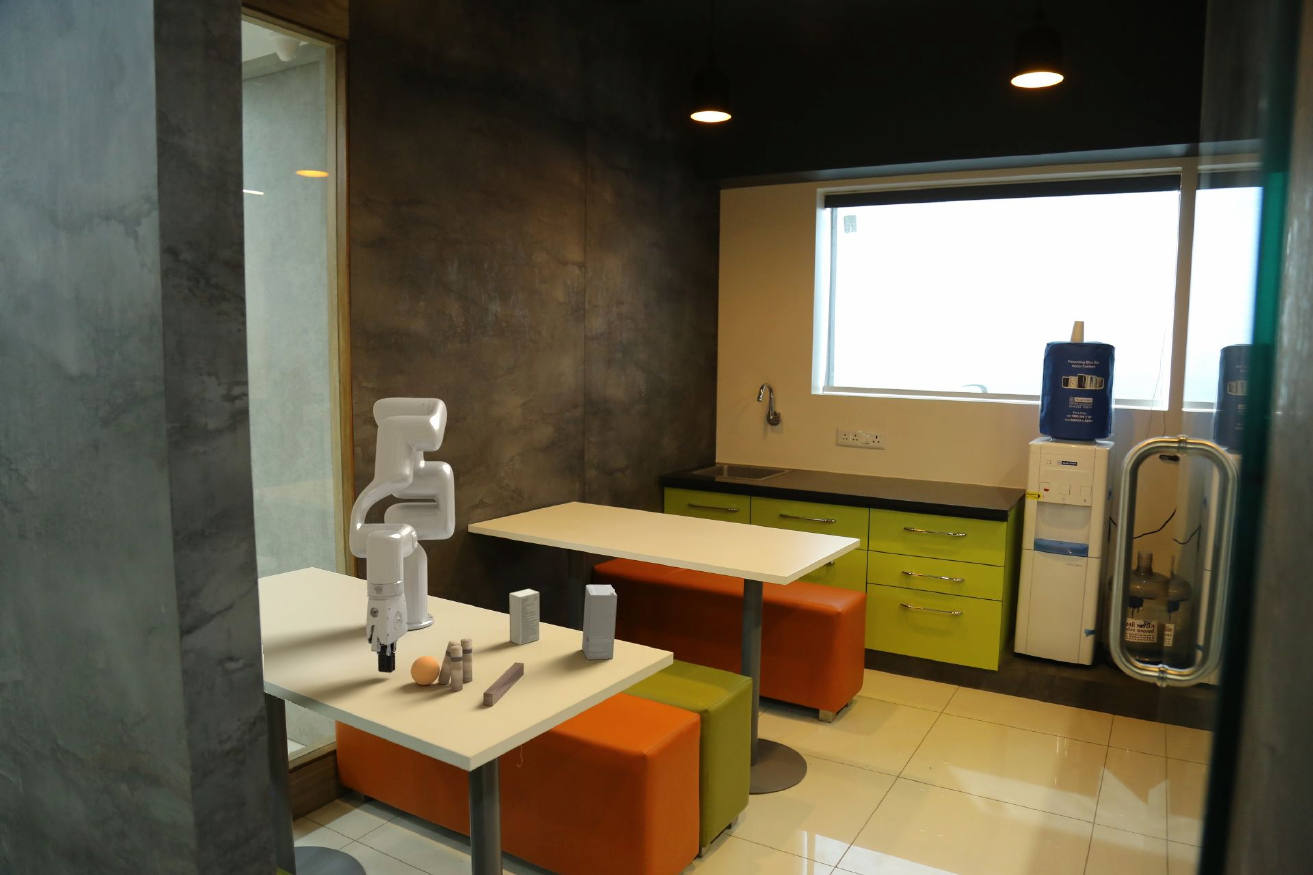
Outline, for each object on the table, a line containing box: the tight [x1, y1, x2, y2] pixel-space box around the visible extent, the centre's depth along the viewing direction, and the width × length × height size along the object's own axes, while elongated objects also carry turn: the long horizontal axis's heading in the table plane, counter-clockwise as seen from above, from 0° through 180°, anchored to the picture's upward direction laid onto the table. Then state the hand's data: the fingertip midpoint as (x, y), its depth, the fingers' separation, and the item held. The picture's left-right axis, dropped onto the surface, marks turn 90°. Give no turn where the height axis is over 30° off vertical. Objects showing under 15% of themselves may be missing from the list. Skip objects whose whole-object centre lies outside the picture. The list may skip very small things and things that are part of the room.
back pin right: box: [450, 645, 464, 692], centre depth 184 cm, size 2×2×9 cm
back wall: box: [482, 662, 525, 707], centre depth 185 cm, size 2×18×2 cm, turn 168°
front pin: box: [437, 640, 461, 685], centre depth 187 cm, size 2×2×9 cm
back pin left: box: [460, 637, 473, 684], centre depth 189 cm, size 2×2×9 cm
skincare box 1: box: [508, 588, 540, 646], centre depth 216 cm, size 6×4×12 cm
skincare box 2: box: [581, 584, 618, 661], centre depth 207 cm, size 8×7×16 cm
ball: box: [410, 655, 441, 686], centre depth 187 cm, size 6×6×6 cm
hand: (386, 670), depth 190 cm, fingers closed
